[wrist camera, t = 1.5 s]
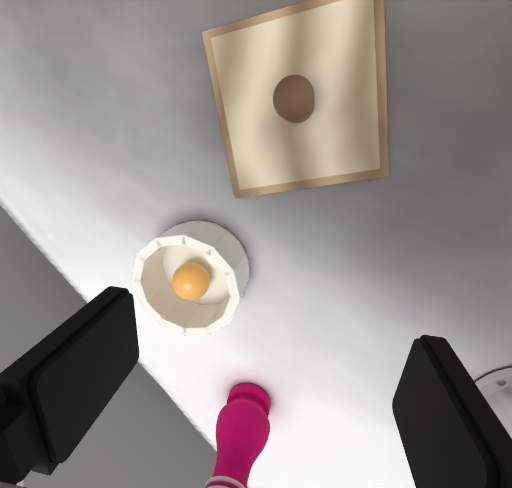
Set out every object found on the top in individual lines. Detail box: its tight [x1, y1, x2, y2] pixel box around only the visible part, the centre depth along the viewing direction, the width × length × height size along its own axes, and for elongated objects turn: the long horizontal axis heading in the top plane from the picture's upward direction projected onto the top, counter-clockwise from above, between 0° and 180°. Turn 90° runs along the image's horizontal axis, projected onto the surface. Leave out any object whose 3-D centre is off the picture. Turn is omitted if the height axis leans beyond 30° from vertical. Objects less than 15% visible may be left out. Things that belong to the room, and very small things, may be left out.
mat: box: [202, 0, 389, 198], centre depth 28 cm, size 16×16×1 cm
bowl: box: [131, 220, 250, 336], centre depth 34 cm, size 12×12×6 cm
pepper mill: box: [205, 383, 270, 488], centre depth 34 cm, size 7×7×20 cm
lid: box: [211, 0, 380, 190], centre depth 25 cm, size 14×14×6 cm
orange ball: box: [172, 263, 210, 300], centre depth 34 cm, size 4×4×4 cm
